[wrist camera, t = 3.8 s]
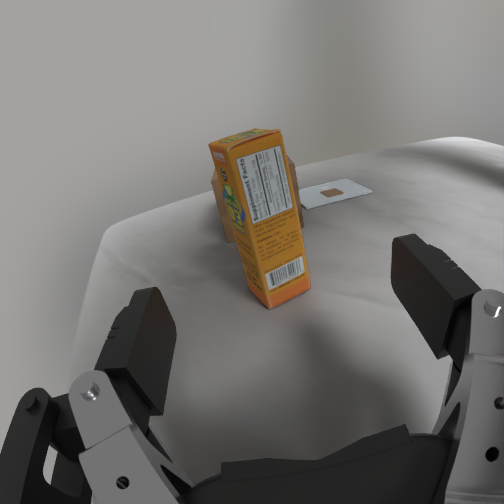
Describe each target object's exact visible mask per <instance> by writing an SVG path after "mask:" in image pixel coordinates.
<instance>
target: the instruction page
mask: <svg viewBox="0 0 504 504" xmlns="http://www.w3.org/2000/svg"><path fill="white" fill-rule="evenodd" d="M368 193H372V191H371V190H369V189H367V188H365V187H363V186H361V185H359V184H357V183H355V182H353V181H351V180H349V179H347V178H345V179H341V180H336V181H332V182H328V183H324V184H319V185H315V186H311V187H307V188H303V189H299V196H300V203H301V205H302V206H303V207H305V208H306V209H310V208H314V207H318V206H322V205H326V204H329V203H333V202H337V201H341V200H345V199H349V198H353V197H356V196H360V195H364V194H368Z"/></svg>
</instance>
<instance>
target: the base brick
mask: <svg viewBox="0 0 504 504" xmlns="http://www.w3.org/2000/svg"><path fill="white" fill-rule="evenodd" d="M286 156H287V155H286ZM287 161H288V166H289V170H290V175H291V180H292V185H293V190H294V195H295V200H296V205H297V210H298V215H299V221H300V226H301V228H303V227H304V223H303V216H302V209H301V203H300V196H299V190H298V184H297V178H296V172H295V166H294V163H293V162H292V161H291V160H290V158H289V157H288V156H287ZM211 183H212V186H213V190H214V194H215V198H216V202H217V206H218V209H219V213H220V217H221V221H222V224H223V228H224V232H225V235H226V239H227V243H229V242H234V241H236V240H235V236H234V233H233V230H232V226H231V222H230V219H229V216H228V212H227V209H226V205H225V202H224V198H223V194H222V190H221V187H220V183H219V179H218V176H217V172H216V169H215V171H214V174H213V177H212V179H211Z"/></svg>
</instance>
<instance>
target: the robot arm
mask: <svg viewBox="0 0 504 504" xmlns="http://www.w3.org/2000/svg"><path fill="white" fill-rule="evenodd" d="M391 284H392V288H393V290H394V293H395V294H396V296H397V297H398V299H399V300H400V302H401V303H402V305H403V306H404V308H405V309H406V311H407V312H408V314H409V315H410V317H411V318H412V320H413V321H414V323H415V324H416V326H417V327H418V329H419V331H420V332H421V334H422V335H423V337H424V339H425V340H426V342H427V343H428V345H429V347H430V348H431V350H432V351H433V353H434V355H435V356H436V358H437V360H438V359H440V358H443V357H445V356H447V355H450V356H451V358H452V362H451V364H450V369H449V374H448V379H447V384H446V389H445V393H444V398H443V402H442V406H441V410H440V414H439V417H438V419H437V422H436V424H435V426H434V429H433V431H432V434H426V433H413V434H409V432H408V429H407V427H406V424H404V425H401V426H398V427H395V428H392V429H389V430H386V431H383V432H380V433H377V434H374V435H371V436H368V437H364V438H362V439H360V440H358V441H356V442H354V443H353V444H351V445H349V446H347V447H345V448H343V449H341V450H339V451H337V452H335V453H333V454H331V455H329V456H327V457H324V458H322V459H320V460H313V461H311V460H286V459H271V458H264V459H256V460H247V461H236V462H223V463H221V474H217V475H215V476H212V477H210V478H207V479H205V480H203V481H201V482H200V483H198V484H195V483H194V482H193V481H192V480H191V479H190V478H189V477H188V476H187V475H186V474H185V473H184V472H183V470H182V469H181V468H180V467H179V466H178V464H177V463H176V462H175V460H174V459H173V458H172V456H171V455H170V454H169V452H168V451H167V449H166V448H165V447H164V445H163V444H162V442H161V441H160V439H159V438H158V436H157V435H156V434H155V432H154V431H153V429H152V428H151V426H150V425H149V424H148V423H149V418H150V416H160V415H163V411H164V405H165V399H166V393H167V387H168V381H169V375H170V370H171V364H172V359H173V353H174V348H175V343H176V336H177V333H176V326H175V323H174V320H173V318H172V316H171V314H170V312H169V309H168V307H167V305H166V303H165V301H164V299H163V296H162V294H161V292H160V290H159V289H158V288H157V287H151V288H146V289H141V290H136V291H135V292H134V294H133V296H132V298H131V301H130V303H129V305H128V306H127V307H124V309H123V310H122V311H121V312H120V313H119V314H118V315H117V316H116V318H115V320H114V322H113V325H112V327H111V330H110V332H109V334H108V336H107V338H108V339H106V341H105V344H104V346H103V348H102V351H101V353H100V356H99V358H98V361H97V363H96V366H95V368H94V371H89V372H86V373H84V374H82V375H81V376H80V377H78V378H77V379H76V380H75V381H74V383H73V384H72V386H71V388H70V391H69V393H68V394H64V395H61V396H58V397H54V398H52V397H51V396H50V395H49V394H48V393H47V392H46V391H45V390H44V389H42V388H34V389H32V390H29V391H28V392H27V393H26V394H25V395H24V396H23V397H22V398H21V400H20V402H19V403H18V406H17V408H16V411H15V414H14V416H13V419H12V421H11V424H10V427H9V430H8V432H7V435H6V438H5V441H4V444H3V447H2V450H1V454H0V504H91V497H92V492H93V494H94V496H95V498H96V500H97V502H98V504H504V294H503V293H502V292H499V291H497V290H492V289H485V290H482V289H481V288H480V287H479V286H478V285H477V284H476V283H475V282H474V281H473V280H472V279H471V278H470V277H469V276H468V275H467V274H466V273H465V272H464V271H463V270H462V269H461V268H460V267H458V265H457V264H456V263H455V262H454V261H453V260H452V261H451V258H450V257H449V256H447V255H446V254H445V253H444V252H443V251H442V250H440V249H438V248H436V247H434V246H432V245H430V244H429V245H427V244H426V243H425V242H424V241H423V240H422V239H420V238H419V237H418V236H417V235H416V234H409V235H405V236H400V237H396V238H394V239H393V242H392V262H391ZM49 445H50V446H51V447H52V448H54V449H55V450H56V451H58V453H57V457H56V461H55V466H54V470H53V475H52V480H51V485H50V484H48V483H47V482H46V480H45V478H44V476H43V466H44V462H45V458H46V454H47V450H48V447H49Z"/></svg>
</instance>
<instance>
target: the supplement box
mask: <svg viewBox="0 0 504 504" xmlns="http://www.w3.org/2000/svg"><path fill="white" fill-rule="evenodd" d="M280 131H281V130H279V129H275V130H262V129H252V130H249V131H246V132H242V133H238V134H235V135H232V136H229V137H226V138H223V139H220V140H217V141H215V142H212V143H210V144H209V148H210V151H211V155H212V158H213V161H214V165H215V169H216V172H217V176H218V179H219V183H220V187H221V190H222V194H223V198H224V202H225V205H226V209H227V212H228V216H229V219H230V222H231V226H232V230H233V233H234V236H235V240H236V243H237V247H238V250H239V254H240V257H241V261H242V264H243V268H244V271H245V275H246V278H247V282H248V287H249V289H250V290H251V291H252V292H253V293H254V294H255V295H256V296H257V297H258V298H259V299H260V301H262V302H263V304H264V305H265V306H266V307H267V308H268V309H273V308H275V307H277V306H279V305H281V304H283V303H285V302H287V301H289V300H291V299H293V298H294V297H296V296H298V295H300V294H302V293H303V292H305V291H307V290H308V289H310V287H311V285H310V279H309V274H308V267H307V260H306V254H305V248H304V243H303V237H302V231H301V226H300V221H299V215H298V210H297V205H296V200H295V195H294V190H293V185H292V180H291V175H290V170H289V166H288V161H287V156H286V151H285V147H284V142H283V137H282V134H281V133H280Z"/></svg>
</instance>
